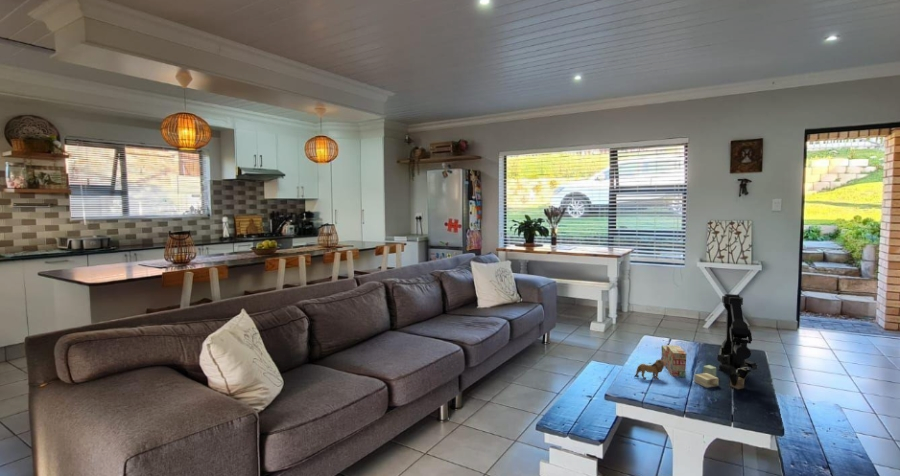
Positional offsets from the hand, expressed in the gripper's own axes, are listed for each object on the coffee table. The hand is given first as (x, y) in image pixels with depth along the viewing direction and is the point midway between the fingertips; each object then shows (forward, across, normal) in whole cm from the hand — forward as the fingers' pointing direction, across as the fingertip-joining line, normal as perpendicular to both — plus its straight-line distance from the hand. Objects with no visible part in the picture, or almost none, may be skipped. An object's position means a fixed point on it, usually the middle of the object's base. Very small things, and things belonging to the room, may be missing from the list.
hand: (737, 384), depth 213 cm
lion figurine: (+1, +29, -24) cm, 38 cm away
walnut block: (+1, 0, 0) cm, 1 cm away
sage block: (+1, -1, -15) cm, 15 cm away
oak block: (+1, +10, -8) cm, 13 cm away
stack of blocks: (+1, +9, -28) cm, 30 cm away
